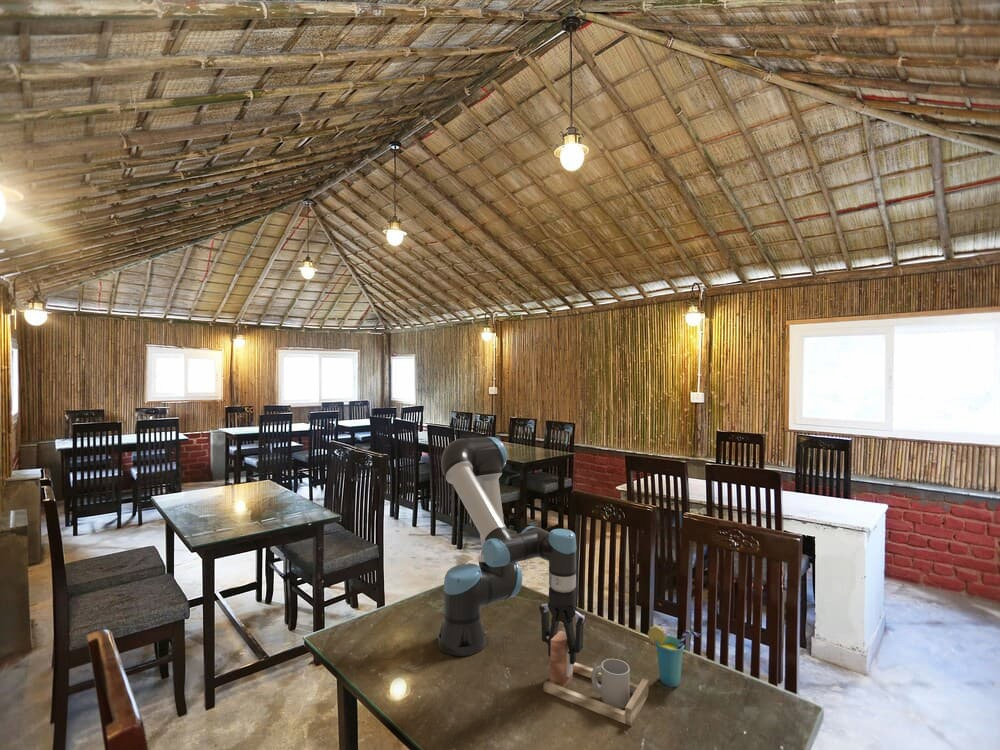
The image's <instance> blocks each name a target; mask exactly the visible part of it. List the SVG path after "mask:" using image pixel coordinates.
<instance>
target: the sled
mask: <svg viewBox="0 0 1000 750" xmlns="http://www.w3.org/2000/svg"><path fill="white" fill-rule="evenodd" d="M568 650H569V648H568V642H567V636H566V631H563V630H559V631H557V634H556V635H555V636H554V637H553V638H552V639H551V657H550V668H549V669H550V670H549V671H550V675H549V676H550V679H549V681H547V680H545V682H544V683H543V692H544V693H547V694H550V695H552V696H555V697H558V699H559V698H560V699H562V700H564V701H566V702H569V703H572V704H575V705H577V706H580V707H582V708H585V709H587V710H590V711H592V712H595V713H597V714H599V715H602V716H604V717H608V718H610V719H612V720H615V721H616V722H620V723H622V724H625V725H627V726H630V727H632V726H633V724H634V722H635V721H636V719H637V717H638V715H639V713H640V711H641V709H642V708H643V706H644V704H645V702H646V700H647V698H648V697H649V679H646V678H642V679H641V680H640V682H639V684H638V683H636V682H633V681H630V694H632V696H630V699H629V702H628V704H627V706H626V707H625V708H624V709H625V710H623V709H618V708H615V707H613V706H610V705H607V704H605V703H604V702H603V701H599V700H597V699H595V698H591V697H589V696H587V695H584V694H581V693H579V692H576V691H573V690H570V689H568V688H566V686H567V685H568V684H569V683H570V681H572V679H573V678H574V673H576V674H578V675H581V676H583V677H587V678H589V679H591V674H592V670H593V669H594V667H590V666H587V665H585V664H582V663H578V662H575V663H574V664H573V673H572V674H571V675H570V676H569V677H567V676H566V652H567V651H568ZM597 680H598V682H601V673H600V672H599V673H598V676H597Z"/></svg>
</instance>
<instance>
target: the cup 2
mask: <svg viewBox="0 0 1000 750" xmlns="http://www.w3.org/2000/svg"><path fill="white" fill-rule="evenodd" d="M688 634H690V635H693V636H695V637H698V638H700V637H701V633H699V632H695V631H693V630H690V629H689V630H688V629H687V630H684V632H683V633H682V636H681V638H680V639H679V638H676V637H673V636H671V635H666V634H665V632H664V630H663V629H661V628H660V627H658V626H650V627H649V630H648V632H647V636H648V639H649V641H650V642H652V643H653V644H654V645H655V646H656V651H657V660H658V661H657V662H658V674H659V680H660V682H661V683H662V684H663V685H665V686H667V687H669V688H670V687H671V688H672V687H678V686H679V685H680V684H681V678H682V666H683V658H684V657H683V656H684V650H685V644H684V641H685V639H686V636H687V635H688Z"/></svg>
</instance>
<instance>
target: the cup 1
mask: <svg viewBox="0 0 1000 750" xmlns="http://www.w3.org/2000/svg"><path fill="white" fill-rule="evenodd" d="M599 672H600V673H601V684H600V683H599V681H598V680H597V676H598V673H599ZM630 672H631V669H630V665H629V664H628V663H627V662H625V661H624V660H621V659H619V658H618V659H617V658H608V659H607V658H606V659H604V660H603V661H602V662H601V665H596V666H594V667H593V670H592V674H591V678H590V679H591V684H592V687H593V688H594V689H595V691H597V693H600V694H601V695H600V696H601V702H602V703H605V704H607V705H610V706H613V707H615V708H618V709H620V710H623V709H625V707H626V706H627V704H628V702H629V701H630V699H631V696H630V694H631V693H630V682H631V679H630V677H631V676H630V674H631V673H630Z"/></svg>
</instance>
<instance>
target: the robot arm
mask: <svg viewBox="0 0 1000 750" xmlns="http://www.w3.org/2000/svg"><path fill="white" fill-rule="evenodd" d="M440 461H441V462H440V463H441V464H440V467H441V471H442V474H443V476H444V478H445V480H446V481H447V483H449V484H451V485H453V489H454V490H455V492H456V494H457V495H458V497H459V498H460V500H461V502H462V504H463V506H464V508H465V509H466V511H467V513H468V514H469V516H470V518H471V520H472V522H473V524H474V526H475V527H476V529H477V530H478V532H479V537H480V545H481V553H482V554H481V556H480V557H479V558H478V560H477V561H478V564H476V563H469V562H468V563H467V564H466V563H461V564H457V565H455V566H452V567H451V568H449V570H447V571H446V573H445V575H444V582H443V621H442V624H441V627H440V630H439V633H438V637H437V641H438V642H437V646H438V649H439V650H440V651H441V652H443V653H445V654H447V655H450V656H451V655H452V656H455V657H456V656H457V657H465V656H472V655H474V654H475V655H476V654H477V653H479V652H480V651H482V650H483V649H484V648H485V647H486V644H487V635H486V632H485V629H484V626H483V622H482V618H481V617H482V616H481V609H482V607H484V606H488V605H491V604H494V603H497V602H500V601H507V600H509V599H510V598H513V597H515V596H517V594H519V592H520V591H521V588H522V585H523V571H522V568H521V566H520V564H519V562H522V561H527V560H530V559H531V560H532V559H534V558H541V559H543V560H545V561H548V603H546V602H544V603H542V604H541V605H539V607H538V608H539V612H540V615H541V616H540V617H541V619H540V620H541V621H540V622H541V640H542V641H541V642H543V643H546V644H547V645H548V647H547V648H548V650H547V653H548V657H549V658H551V639H552V638H553V637H554V636H555V635H556V634H557V633H558V629H559V624H560V622H561V623H562V624H563V628H564V630H565V631H564V632H566V636H567V642H568V648H569V650H568V651H567V652H566V676H567V677H569V676H570V675H571V674H572V673H573V674H574V672H573V664H574V663H575V662H576V661H577V654H579V653H580V652H581V651H582V650H583V647H584V626H585V625H584V623H585V621H586V618H587V616H586V614H585V613H582V614H581V613H580V612H579V611H578V610H577V606H576V602H577V589H576V588H577V576H576V575H577V573H576V572H577V539H576V537H577V536H576V534H575V532H573V530H570V529H565V528H555V529H552V530H551V531H547V530H545V529H543V528H541V527H539V526H533V525H529V526H527V527H525V528H524V529H523V530H522V531H521V532H519V533H513V534H511V532H510V531H509V529H508V527H507V526H506V524H505V522H504V512H503V506H502V497H501V489H500V488H501V487H500V480H499V479H500V477H501V476H502V475H503V468H505V467H506V465H507V462H508V454H507V450H506V447H505V445H504V443H503V442H502V441H501V440H500V439H499V438H497V437H493V436H481V437H470V438H468V437H467V438H457V439H455V440H453V441H451V442H450V443H449V444H448V445H447V446H446V447H445V449H444V450H443V452H442V455H441V460H440ZM550 613H551V615H552V617H551V624H550ZM574 617H575V622H576V623H575V630H574V626H573V624H574V620H573V618H574ZM576 663H577V662H576Z"/></svg>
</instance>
